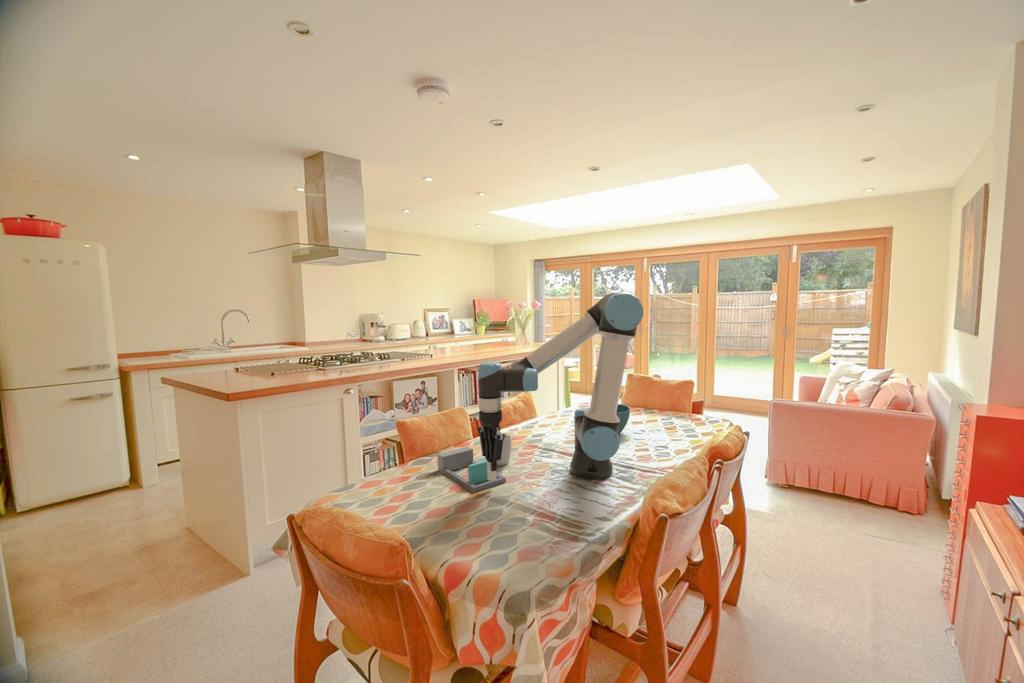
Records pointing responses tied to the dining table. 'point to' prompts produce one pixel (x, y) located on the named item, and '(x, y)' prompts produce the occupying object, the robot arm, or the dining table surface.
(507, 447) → the cup
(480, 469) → the block
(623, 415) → the teal bowl
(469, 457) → the tray
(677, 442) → the dining table surface
